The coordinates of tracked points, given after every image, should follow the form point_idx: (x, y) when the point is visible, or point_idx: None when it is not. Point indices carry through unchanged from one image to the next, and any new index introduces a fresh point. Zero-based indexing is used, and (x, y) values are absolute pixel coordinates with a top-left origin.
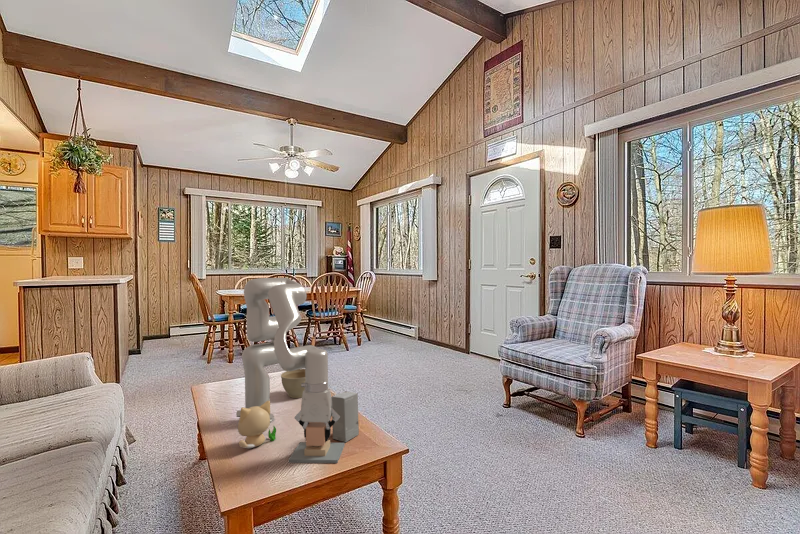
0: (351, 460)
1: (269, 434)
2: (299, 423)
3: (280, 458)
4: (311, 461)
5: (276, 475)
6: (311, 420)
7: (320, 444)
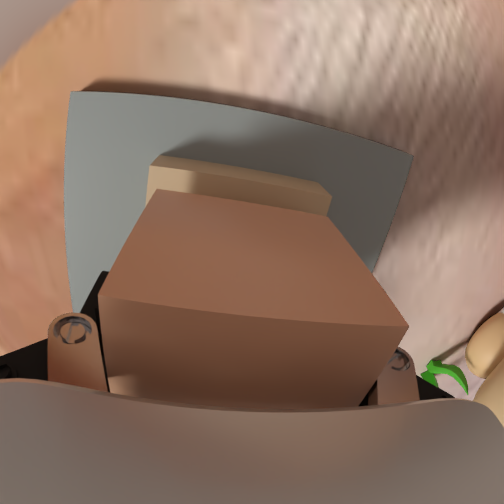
0: (8, 128)
1: (460, 374)
2: (447, 395)
3: (436, 210)
4: (261, 111)
5: (447, 34)
6: (366, 432)
7: (189, 196)
